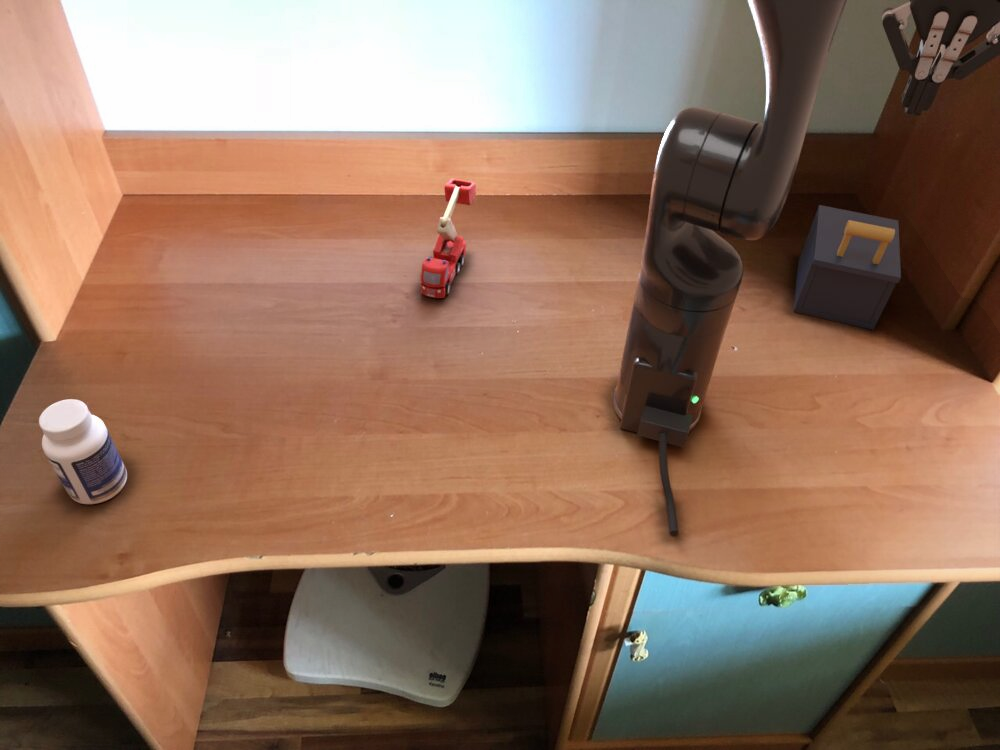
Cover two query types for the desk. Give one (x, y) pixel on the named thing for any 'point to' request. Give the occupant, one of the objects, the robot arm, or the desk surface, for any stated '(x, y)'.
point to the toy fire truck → (447, 243)
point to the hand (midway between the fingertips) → (912, 111)
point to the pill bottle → (81, 452)
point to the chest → (838, 291)
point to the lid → (857, 243)
